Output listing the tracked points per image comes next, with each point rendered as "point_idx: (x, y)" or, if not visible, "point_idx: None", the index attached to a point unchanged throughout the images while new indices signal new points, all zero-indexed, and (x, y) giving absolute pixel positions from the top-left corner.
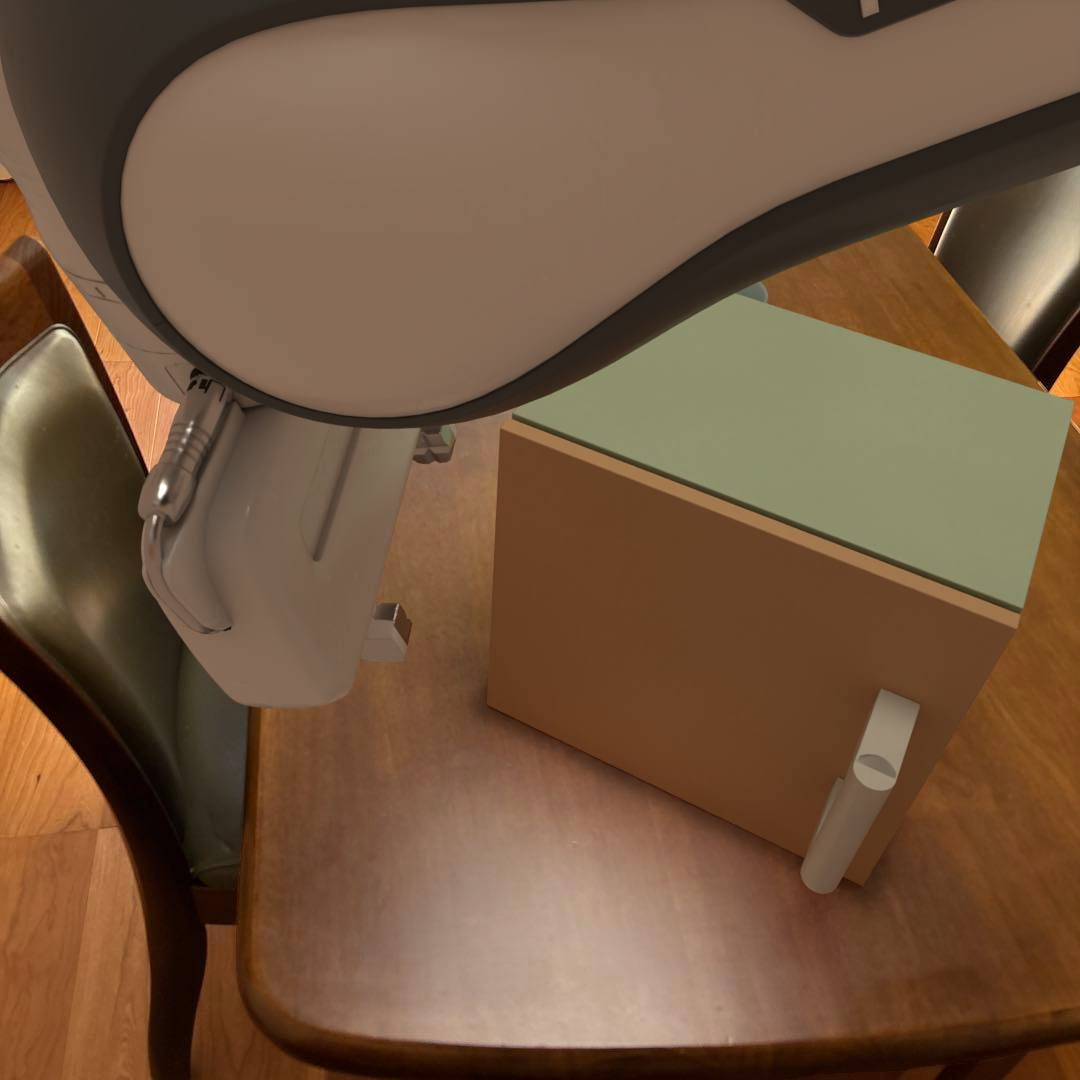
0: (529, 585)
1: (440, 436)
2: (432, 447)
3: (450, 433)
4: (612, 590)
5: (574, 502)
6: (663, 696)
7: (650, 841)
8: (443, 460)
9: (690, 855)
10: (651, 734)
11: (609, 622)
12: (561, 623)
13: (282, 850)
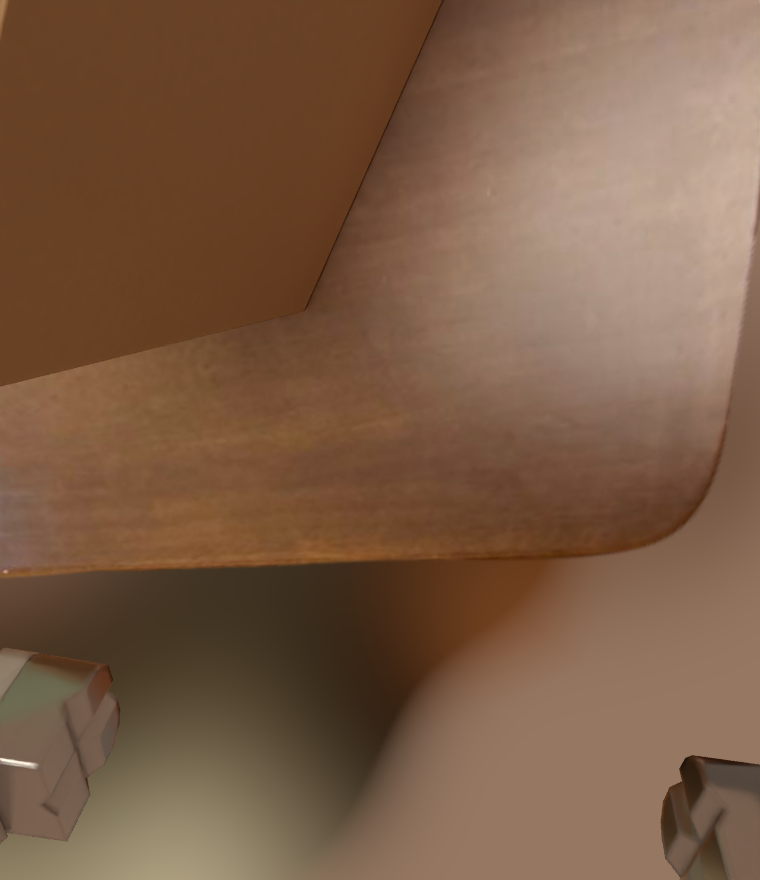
0: (188, 286)
1: (46, 756)
2: (76, 732)
3: (17, 698)
4: (201, 141)
5: (54, 227)
6: (335, 53)
7: (486, 86)
8: (105, 677)
9: (506, 27)
10: (366, 79)
11: (243, 146)
12: (237, 228)
13: (502, 530)
